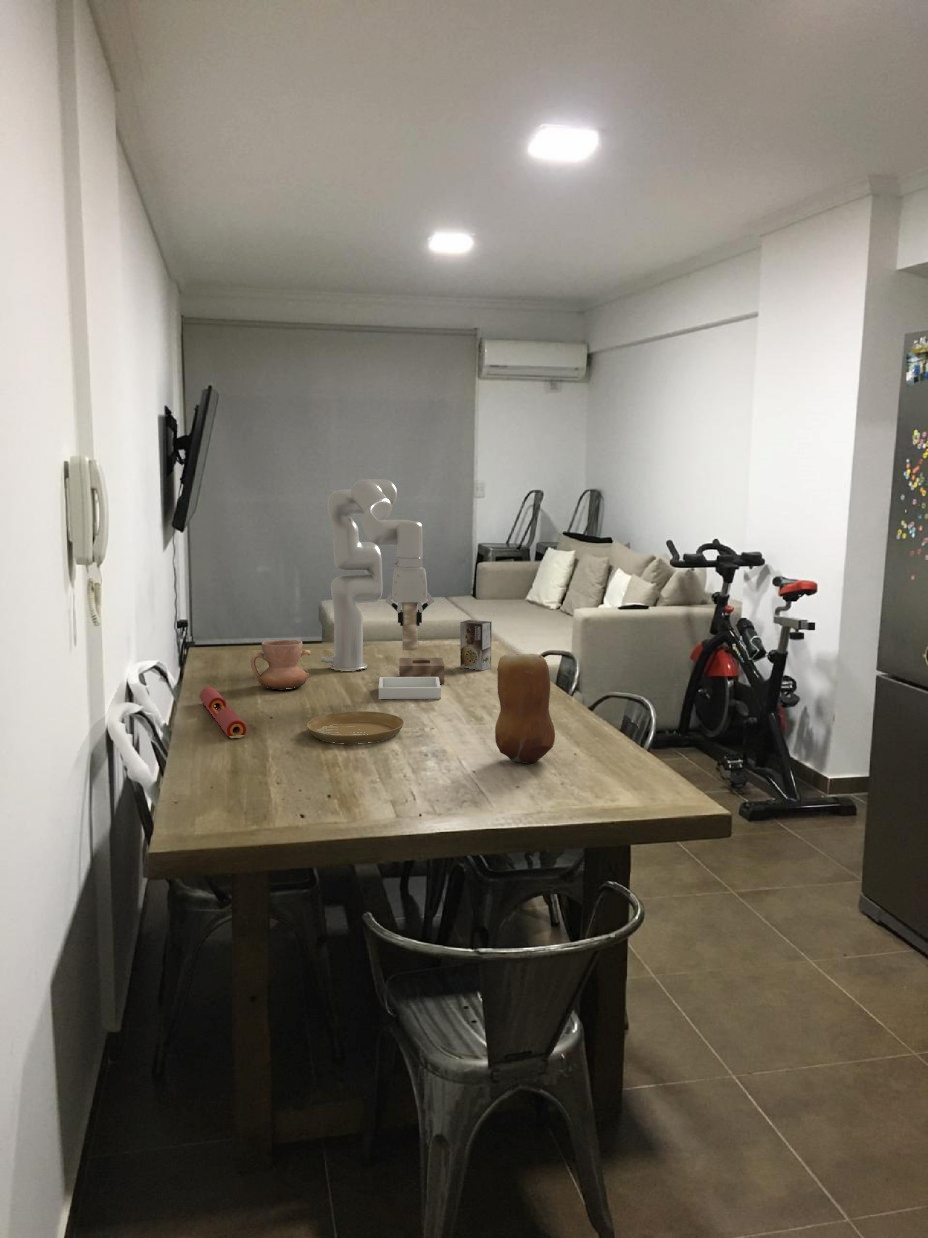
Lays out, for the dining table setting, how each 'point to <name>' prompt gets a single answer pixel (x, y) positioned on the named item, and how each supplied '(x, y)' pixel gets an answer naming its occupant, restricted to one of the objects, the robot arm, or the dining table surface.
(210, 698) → the blood vessel
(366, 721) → the plant saucer
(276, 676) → the ceramic jug
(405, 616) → the dowel
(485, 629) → the coffee box
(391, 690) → the tray
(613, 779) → the dining table surface
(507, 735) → the butternut squash
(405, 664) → the socket block
